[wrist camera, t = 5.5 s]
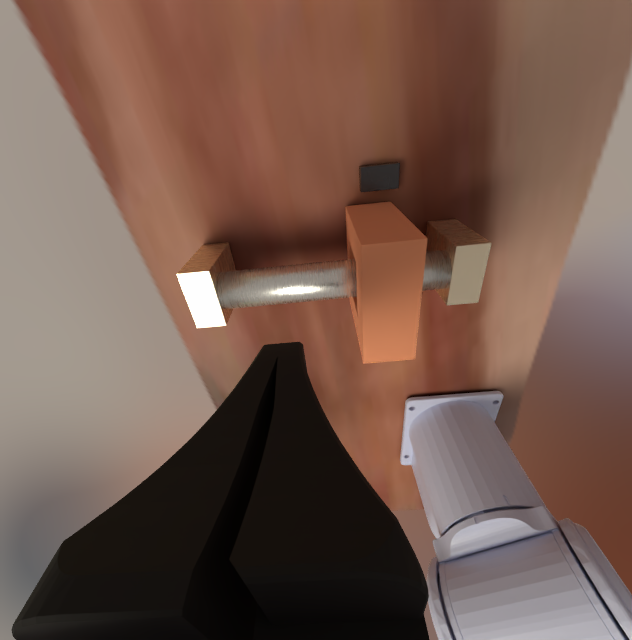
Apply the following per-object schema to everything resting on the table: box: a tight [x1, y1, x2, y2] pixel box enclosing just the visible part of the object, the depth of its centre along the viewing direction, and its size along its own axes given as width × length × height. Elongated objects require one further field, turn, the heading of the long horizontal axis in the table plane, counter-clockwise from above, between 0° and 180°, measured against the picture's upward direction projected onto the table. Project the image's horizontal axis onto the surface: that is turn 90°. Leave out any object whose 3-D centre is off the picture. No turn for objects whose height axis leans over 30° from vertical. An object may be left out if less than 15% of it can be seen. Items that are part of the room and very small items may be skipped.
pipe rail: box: [177, 162, 491, 328], centre depth 17 cm, size 15×10×4 cm, turn 96°
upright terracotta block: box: [345, 201, 428, 364], centre depth 16 cm, size 2×6×6 cm, turn 6°
